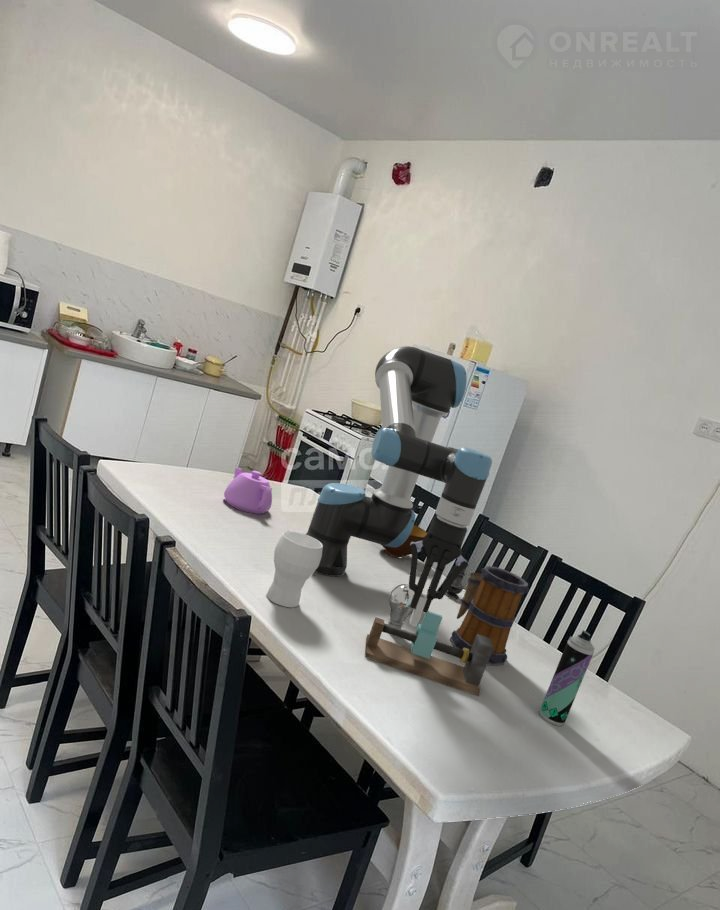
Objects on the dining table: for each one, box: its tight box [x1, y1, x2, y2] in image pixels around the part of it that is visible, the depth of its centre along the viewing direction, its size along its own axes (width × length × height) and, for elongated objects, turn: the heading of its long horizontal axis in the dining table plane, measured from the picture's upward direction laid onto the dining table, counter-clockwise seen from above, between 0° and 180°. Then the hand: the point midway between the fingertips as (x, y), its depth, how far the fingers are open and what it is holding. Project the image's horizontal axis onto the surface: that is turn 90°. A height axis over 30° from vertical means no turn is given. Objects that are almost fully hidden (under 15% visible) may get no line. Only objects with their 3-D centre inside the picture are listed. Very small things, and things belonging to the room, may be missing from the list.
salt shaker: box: [444, 557, 467, 600], centre depth 205 cm, size 6×6×12 cm
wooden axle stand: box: [364, 616, 493, 697], centre depth 148 cm, size 25×10×10 cm, turn 88°
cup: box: [266, 530, 323, 608], centre depth 158 cm, size 11×11×15 cm
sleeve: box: [410, 610, 443, 659], centre depth 148 cm, size 4×4×9 cm
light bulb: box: [387, 583, 414, 629], centre depth 161 cm, size 7×7×12 cm
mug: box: [448, 565, 530, 667], centre depth 170 cm, size 19×14×20 cm
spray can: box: [538, 630, 595, 727], centre depth 144 cm, size 6×6×20 cm
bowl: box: [382, 524, 428, 558], centre depth 228 cm, size 18×18×10 cm
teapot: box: [223, 467, 273, 515], centre depth 224 cm, size 22×16×12 cm
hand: (413, 623), depth 147 cm, fingers closed
